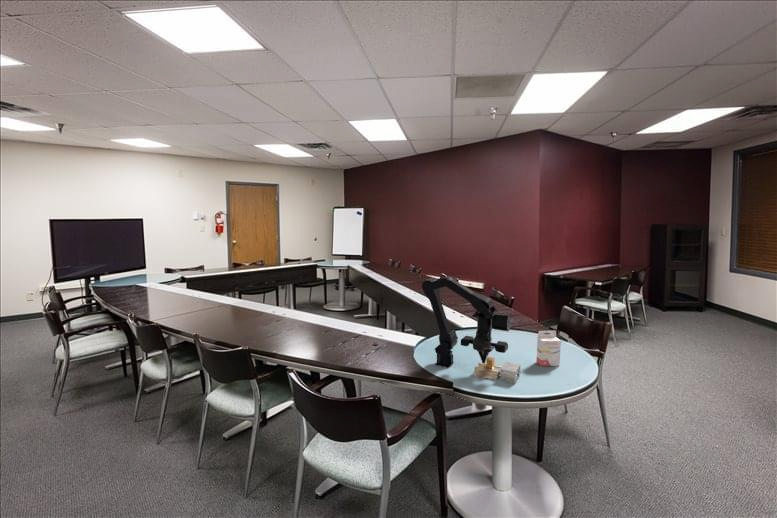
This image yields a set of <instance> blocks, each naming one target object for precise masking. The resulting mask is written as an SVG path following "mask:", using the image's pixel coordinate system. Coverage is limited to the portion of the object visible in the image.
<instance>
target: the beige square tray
mask: <svg viewBox="0 0 777 518" xmlns="http://www.w3.org/2000/svg"><path fill="white" fill-rule="evenodd" d="M486 363H487V362H485V364H483V363H482V361H479V362H478V366H477V365H475V366H474V372H473V373H472V376H473V375H474V377H477V376H479V377H478V378H482V377H483V379H486V378H488V379H487V380H491V379H492V380H491V381H495V380H496V381H497V380H498V379H499V378H500V376H499V374H498V370H493V369H488V368H486ZM494 367H496V368H502V366H501V365H495V364H494Z"/></svg>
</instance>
